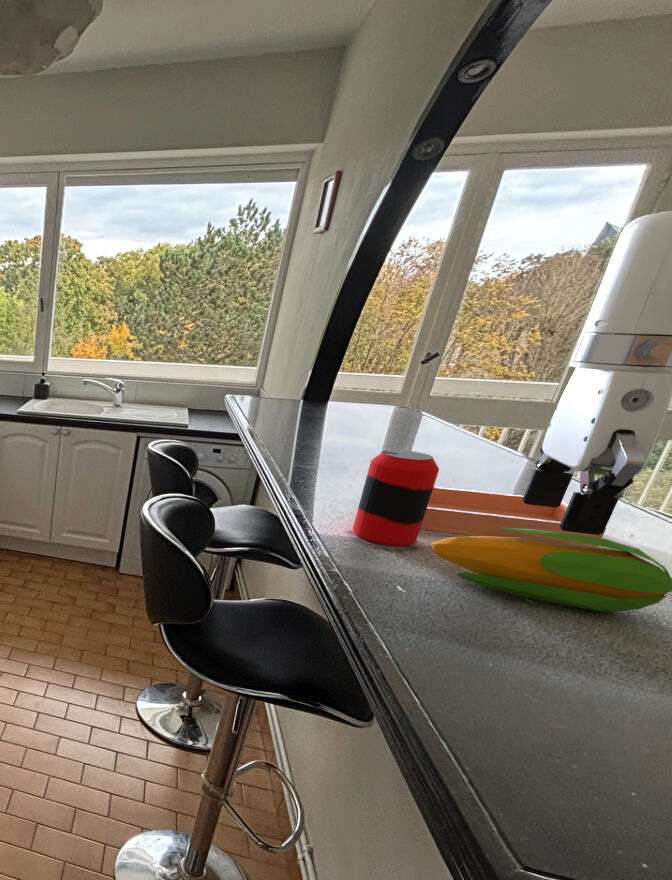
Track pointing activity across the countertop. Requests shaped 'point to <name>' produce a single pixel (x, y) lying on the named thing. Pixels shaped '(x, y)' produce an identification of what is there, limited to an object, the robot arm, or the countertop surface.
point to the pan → (492, 515)
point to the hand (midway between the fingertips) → (558, 517)
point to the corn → (560, 569)
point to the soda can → (395, 497)
